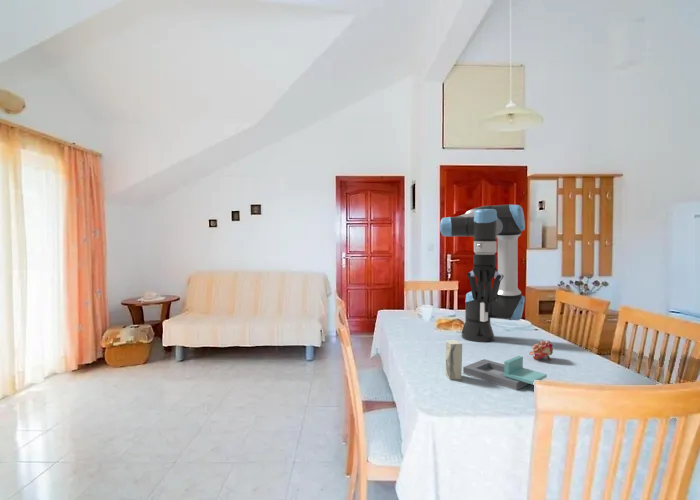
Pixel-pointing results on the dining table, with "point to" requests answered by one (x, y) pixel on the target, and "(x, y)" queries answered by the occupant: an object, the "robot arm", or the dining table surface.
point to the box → (453, 359)
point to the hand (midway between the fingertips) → (483, 320)
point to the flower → (542, 350)
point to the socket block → (492, 374)
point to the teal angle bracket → (521, 371)
